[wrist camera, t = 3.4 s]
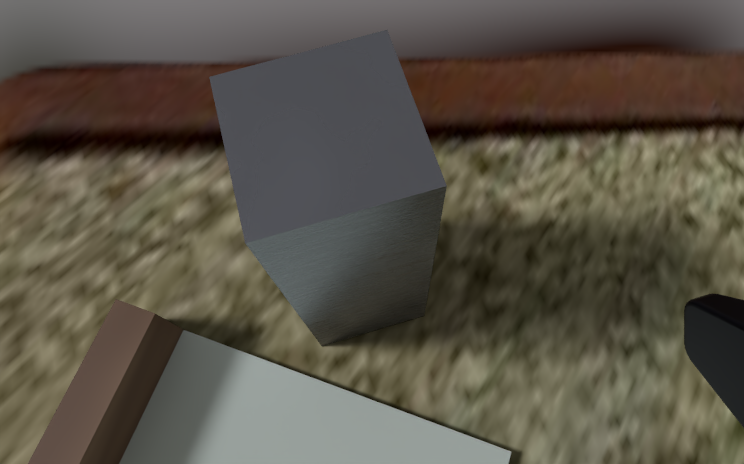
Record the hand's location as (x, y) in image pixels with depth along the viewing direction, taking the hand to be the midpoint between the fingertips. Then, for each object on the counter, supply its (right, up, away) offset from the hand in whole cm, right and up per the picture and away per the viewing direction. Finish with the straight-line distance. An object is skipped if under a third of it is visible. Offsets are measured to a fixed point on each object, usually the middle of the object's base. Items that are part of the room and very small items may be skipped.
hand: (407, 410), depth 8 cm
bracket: (-2, +3, +14) cm, 15 cm away
